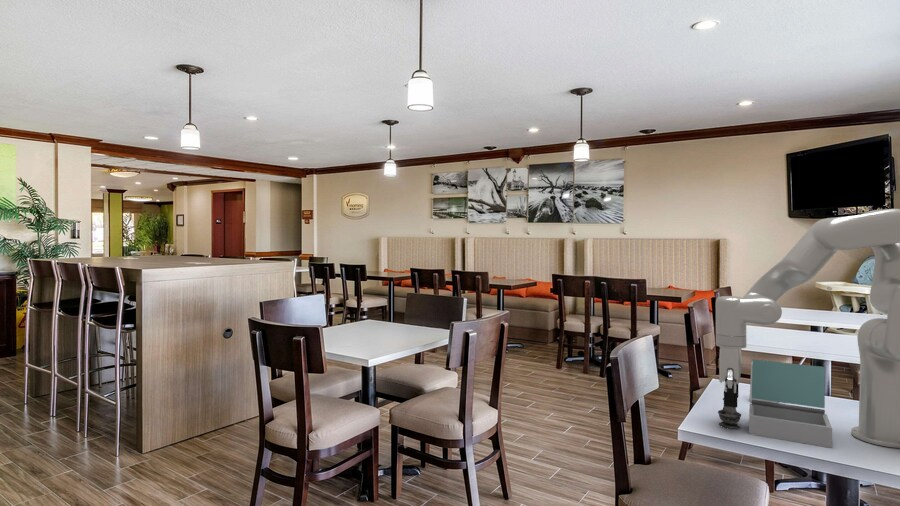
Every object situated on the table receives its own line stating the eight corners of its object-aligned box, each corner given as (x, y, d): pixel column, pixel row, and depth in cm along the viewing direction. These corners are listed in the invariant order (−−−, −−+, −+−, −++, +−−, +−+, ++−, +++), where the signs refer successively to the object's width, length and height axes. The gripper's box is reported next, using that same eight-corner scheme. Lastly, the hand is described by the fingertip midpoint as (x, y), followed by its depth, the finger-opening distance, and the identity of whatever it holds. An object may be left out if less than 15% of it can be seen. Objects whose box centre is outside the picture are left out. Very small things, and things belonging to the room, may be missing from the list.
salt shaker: (744, 426, 144) (745, 383, 144) (735, 431, 141) (736, 387, 140) (723, 420, 149) (723, 379, 149) (713, 425, 145) (714, 382, 145)
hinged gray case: (826, 432, 140) (826, 414, 140) (831, 448, 130) (832, 428, 130) (749, 420, 149) (749, 403, 149) (748, 433, 139) (749, 415, 139)
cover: (824, 414, 139) (824, 414, 140) (824, 366, 141) (824, 367, 142) (751, 403, 148) (751, 403, 149) (752, 359, 150) (752, 359, 151)
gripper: (717, 334, 154) (718, 392, 154) (713, 345, 139) (714, 408, 139) (746, 336, 150) (747, 395, 150) (745, 347, 135) (746, 412, 135)
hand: (731, 401), depth 145 cm, fingers open, 9 cm apart
